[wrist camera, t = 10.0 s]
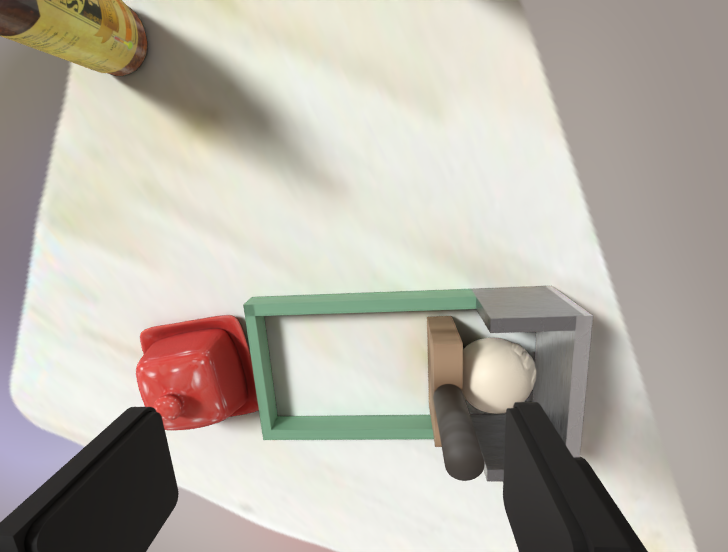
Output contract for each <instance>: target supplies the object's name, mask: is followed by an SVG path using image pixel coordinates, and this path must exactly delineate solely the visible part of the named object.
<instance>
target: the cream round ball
mask: <svg viewBox="0 0 728 552" xmlns="http://www.w3.org/2000/svg"><path fill="white" fill-rule="evenodd" d="M535 381H536V368H535V363H534V360H533V358H532V357H531V356H530V355H529V354H528V352H527V351H526V350H525V349H524V348H523V347H522V346H521V345H519V344H516V343H512V342H510V341H507V340H505V339H501V338H484V339H480V340H476V341H474V342H472V343H470V344H469V345H467V346H466V347H465V348H464V349H463V394H464V398H465V399H466V400H467V401H468V402H469V403H470V404H471V405H472V406H474V407H475V408H477V409H479V410H481V411H484V412H487V413H493V414H500V413H506V410H507V408H513V405H514V403H515V402H524V401H525V400H526V399H527V398H528V397H529V395H530V393H531V391H532V389H533V387H534V383H535Z"/></svg>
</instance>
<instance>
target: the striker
mask: <svg viewBox="0 0 728 552" xmlns="http://www.w3.org/2000/svg"><path fill="white" fill-rule="evenodd" d="M427 337H428V383H429V409H430V415H431V422H432V429H433V435H434V442H435V447H442V451H443V457H444V463H445V468H446V470H447V472H448V473H449V475H450V476H452V477H453V478H455V479H458V480H462V481H467V480H472V479H475V478H477V477H478V476H479V475H480V474H481V473H482V472H483V470H484V467H485V462H484V458H483V455H482V452H481V448H480V445H479V442H478V439H477V436H476V433H475V429H474V426H473V423H472V420H471V417H470V413H469V410H468V407H467V404H466V401H465V398H464V394H463V343H462V341H461V338H460V336H459V333H458V331H457V328H456V326H455V323H454V321H453V318H452V316H436V317H427Z"/></svg>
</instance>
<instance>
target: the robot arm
mask: <svg viewBox="0 0 728 552" xmlns="http://www.w3.org/2000/svg"><path fill="white" fill-rule="evenodd" d="M177 500H178V488H177V483H176V479H175V474H174V470H173V465H172V461H171V456H170V452H169V447H168V443H167V438H166V434H165V429H164V425H163V420H162V416H161V414H160V413H158V412H156V410H155V408H153V407H130V408H129V409H127V410H126V411H125V412H124V413H122V414H121V415H120V416H119V417H118V418H117V419H116V420H115V421H114V422H112V423H111V424H110V425H109V426H108V427H107V428H106V429H105V430H103V431H102V432H101V433H100V434H99V435H98V436H97V437H96V438H94V439H93V440H92V441H91V442H90V443H89V444H88V445H87V446H85V447H84V448H83V449H82V450H81V451H80V452H79V453H78V454H77V455H76V456H74V457H73V458H72V459H71V460H70V461H69V462H68V463H67V464H65V465H64V466H63V467H62V468H61V469H60V470H59V471H57V472H56V473H55V474H54V475H53V476H52V477H51V478H50V479H49V480H47V481H46V482H45V483H44V484H43V485H42V486H41V487H40V488H38V489H37V490H36V491H35V492H34V493H33V494H32V495H31V496H29V498H27V499H26V500H25V501H24V502H23V503H22V504H20V505H19V506H18V507H17V508H16V509H15V510H14V511H13V512H12V513H11V514H9V515H8V516H7V517H6V518H5V519H4V520H3V521H2V522H0V552H146V551H147V549H148V547H149V546H150V544H151V543H152V541H153V540H154V538H155V537H156V535H157V534H158V532H159V531H160V529H161V528H162V526H163V524H164V523H165V521H166V520H167V518H168V517H169V515H170V514H171V512H172V511H173V509H174V508H175V506H176V503H177ZM503 500H504V506H505V510H506V513H507V516H508V519H509V522H510V525H511V528H512V531H513V534H514V538H515V541H516V544H517V547H518V550H519V552H648V551H647V550H646V548H645V547H644V545H643V544H642V542H641V541H640V539H639V538H638V536H637V535H636V533H635V532H634V530H633V529H632V527H631V526H630V524H629V523H628V521H627V520H626V519H625V517H624V516H623V514H622V513H621V511H620V510H619V508H618V507H617V505H616V504H615V502H614V501H613V499H612V498H611V496H610V495H609V493H608V492H607V490H606V489H605V487H604V486H603V484H602V483H601V481H600V480H599V478H598V477H597V475H596V474H595V472H594V471H593V469H592V468H591V466H590V465H589V463H588V462H587V461H586V460H585V459H583V458H582V457H573V456H572V454H571V453H570V451H569V449H568V448H567V446H566V445H565V443H564V441H563V440H562V438H561V437H560V435H559V434H558V432H557V430H556V429H555V427H554V426H553V424H552V422H551V421H550V419H549V418H548V416H547V415H546V413H545V411H544V410H543V408H542V407H541V405H540V404H539V403H538V402H515V403H514V405H513V408H507V410H506V425H505V453H504V481H503Z"/></svg>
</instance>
